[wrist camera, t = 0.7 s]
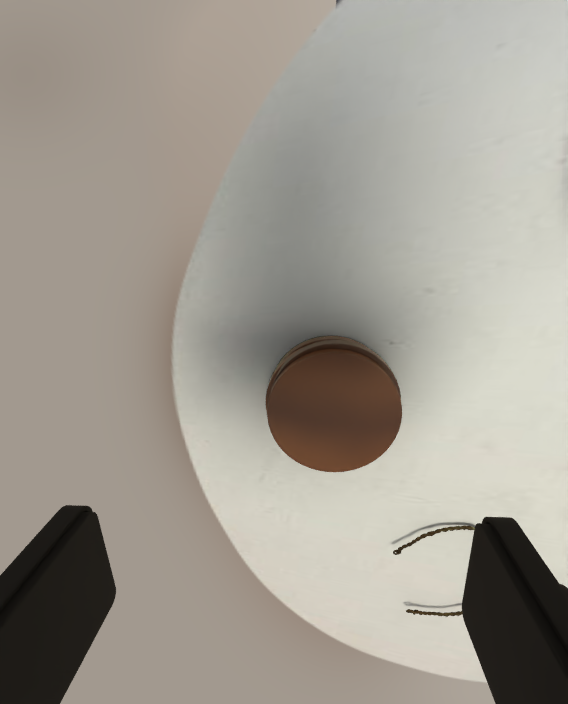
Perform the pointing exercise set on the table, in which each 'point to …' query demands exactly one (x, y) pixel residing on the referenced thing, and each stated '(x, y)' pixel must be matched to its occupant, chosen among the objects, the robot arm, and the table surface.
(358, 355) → the chip pile
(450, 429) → the table surface
